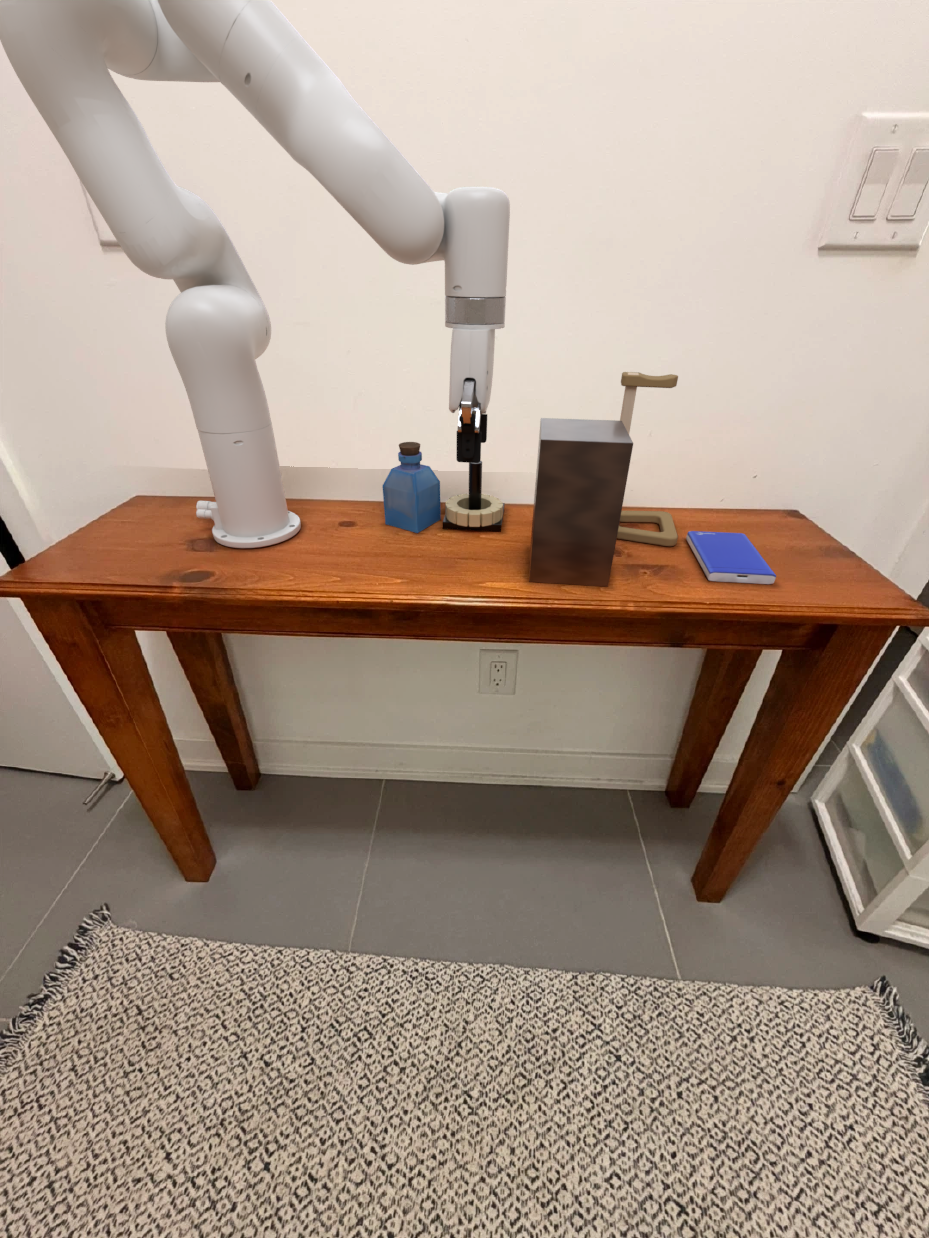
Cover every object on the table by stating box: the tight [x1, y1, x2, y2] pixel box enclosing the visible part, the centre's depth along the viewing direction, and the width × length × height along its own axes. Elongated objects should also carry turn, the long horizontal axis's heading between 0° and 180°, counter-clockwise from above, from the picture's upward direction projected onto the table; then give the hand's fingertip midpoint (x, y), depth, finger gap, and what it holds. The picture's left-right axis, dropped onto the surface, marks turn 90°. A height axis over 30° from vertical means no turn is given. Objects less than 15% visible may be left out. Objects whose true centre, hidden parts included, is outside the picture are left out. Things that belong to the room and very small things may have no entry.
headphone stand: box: [617, 371, 679, 547], centre depth 77 cm, size 10×11×22 cm
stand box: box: [528, 417, 634, 588], centre depth 68 cm, size 10×10×18 cm
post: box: [442, 460, 506, 533], centre depth 84 cm, size 9×9×9 cm
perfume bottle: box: [381, 441, 442, 534], centre depth 82 cm, size 6×6×12 cm
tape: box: [444, 493, 504, 527], centre depth 84 cm, size 9×9×2 cm
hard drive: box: [685, 530, 777, 585], centre depth 74 cm, size 2×8×12 cm
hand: (472, 451), depth 77 cm, fingers open, 9 cm apart
